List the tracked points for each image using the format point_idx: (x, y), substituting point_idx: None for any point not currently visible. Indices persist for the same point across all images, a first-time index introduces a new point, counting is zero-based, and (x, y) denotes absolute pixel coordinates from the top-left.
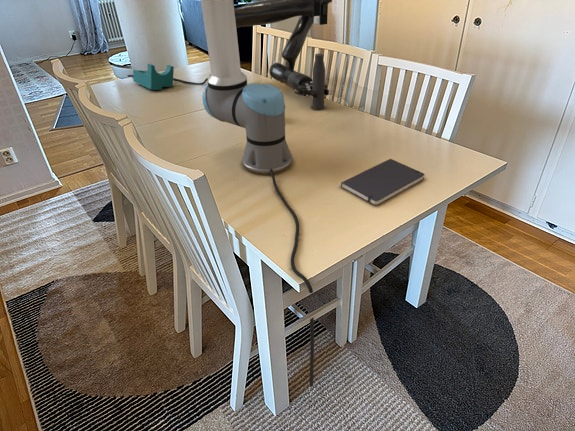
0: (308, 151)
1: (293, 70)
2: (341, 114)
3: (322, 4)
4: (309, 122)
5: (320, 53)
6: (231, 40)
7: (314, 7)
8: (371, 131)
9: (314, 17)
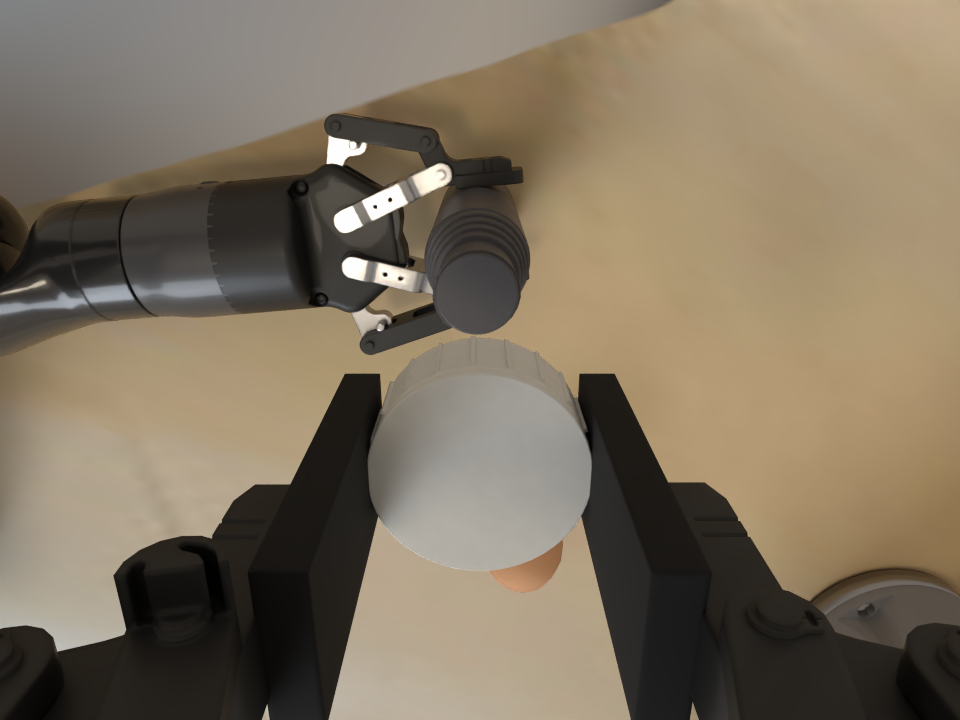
0: (899, 487)
1: (87, 258)
2: (641, 135)
3: (689, 692)
4: (639, 351)
5: (449, 267)
6: None
7: (344, 633)
8: (939, 116)
9: (473, 570)
